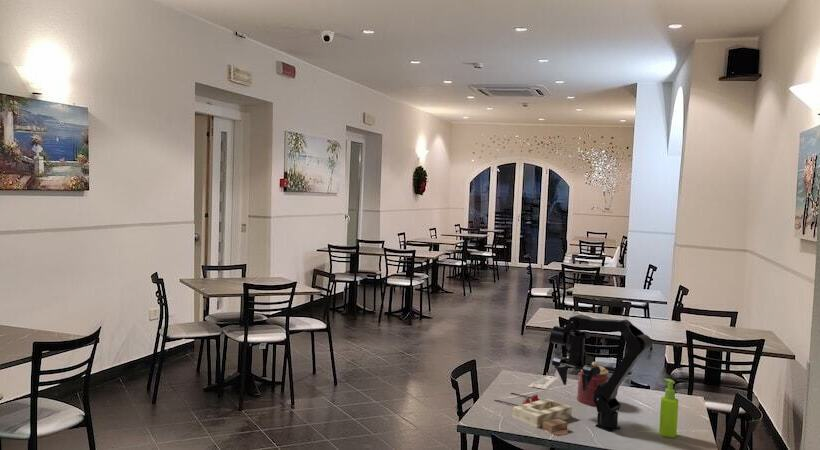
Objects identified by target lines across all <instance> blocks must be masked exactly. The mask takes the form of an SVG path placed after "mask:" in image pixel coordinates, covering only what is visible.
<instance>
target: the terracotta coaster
mask: <svg viewBox="0 0 820 450" xmlns="http://www.w3.org/2000/svg"><path fill="white" fill-rule="evenodd" d="M542 430H544V429H543V428H542ZM544 432H546V433H548V434H552V435H559V436H563V435H568V433H569V429H568V428H567V429H565V430H561V431H557V432H553V433H551V432H548V431H546V430H544Z"/></svg>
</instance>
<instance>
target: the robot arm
mask: <svg viewBox="0 0 820 450" xmlns="http://www.w3.org/2000/svg"><path fill="white" fill-rule="evenodd" d="M588 330H599V331H614V332H615V331H616V332H619V333H621V335H622V337H623V340H625V342H626V344H627V347H626V352H625V355H624V356H623V358H622V359H621V361H619V364H618V365H617V367H616V368H615V370H614V371H613V373H612V374H611V376H610V379H609V380H608V382H607V383H606V382H604V383H602V384H599V385H598V387H597V389H596V391H595V392H593V393H594V395H593V401H594V403H595V404H596V411H597V419H596V421H597V422H596V424H595V427H597V428H600V429H603V430H605V431H608V432H612V431H615V430H619V429H621V426H619V425H618V423H619V422H618V420H619V416H618V415H619V412H617V411H619V410H620V409H621V403H620V402H619V400H617V398H616V397H617V396H618V392H619V388H620V386H621V384H622V383H623V382H624V380H625V379H626V377H627V376H628V375H629V373H630V371H631V369H632V368H633V367H634V366H635V364H636V363H637V361H638V360H639V359H640V358H641V357H643V356H644V355H645V354H646V353H647V352H648V351H649V350H650V349H651V348H652V346H653V340H652V338H651V337H650V336H649V335H648V334H645V333H644V332H643V331H642V330H641V329H640V328H638V327H636V326H635V325H634V324H633V323H632V322H631V321H630V320H629V319H611V318H610V319H609V318H608V319H607V318H594V317H591V316H588V315H584V314H578V315H572V316H570V317H569V318H568V320H567V323H566V324H565V326H564V327H560V326H557V325H555V326H553V328H552V330H551V333H550V334H549V341H550V343H551V344H556V345H560V346H561V345H562V346H564V347H565V346H567V345H568V349H566V353H567V354H568V358H567V357H565V356H556V357H553V359H552V360H551V361H552V362H551V366H554V368H555V369H556V370H557V373H558V374H559V377H560V379H561V381H562V384H563V385H564V386H566V385H567V381H568V370H569V368H573V369H578V370H580V371H581V370H583V373H584V374H582V383H583V391H586V389H587V387H588V385H589V382H590V380H591V379H592V377H593V376H596V375H597V374H600V368H599V366H600V365H598V366H595V365H592V362H594V357H593V356H591V355H589V354H588V353H587V351H586V350H585V341H586V339H588V338H589V339H590V338H591V334H589V333H588ZM585 365H587V366H585Z"/></svg>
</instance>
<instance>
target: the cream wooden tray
mask: <svg viewBox="0 0 820 450" xmlns="http://www.w3.org/2000/svg"><path fill="white" fill-rule="evenodd" d="M530 402H531V401H530ZM572 409H573V408H572V406H571V405H568V404H565V403H563V402H558V401H556V400H553V399H550V398H544V399H540V400H538V401H535V402H531V403H527V404H524V403H523V405H522V404H519V406H515V405H514V406H513V407H512V418H514V419H516V420H518V421H521V422H523V423H525V424H528V425H530V426H531V427H535V428H539V427H543V422H546V421H550V420H554V419H561V420H563V421H565V420H569V419H572Z"/></svg>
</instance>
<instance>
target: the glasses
mask: <svg viewBox="0 0 820 450" xmlns="http://www.w3.org/2000/svg"><path fill="white" fill-rule="evenodd" d="M510 395H516V396H519V397H525V399H524V400H523V401H522V404H521V405H523V404H527V403H531V402H535V401H539V400H541V399H540V398H539V395H538V394H534V395H532V396H529V395H528V396H527V395H524V394H519V393H515V392H510ZM530 399H531V400H530ZM493 402H500V403H505V404H508V405H513V406H514V407H515V406H519V405H520V404H519V405H518V404H514V403H511V402H508V401H504V400H499V399H494V400H493Z"/></svg>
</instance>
